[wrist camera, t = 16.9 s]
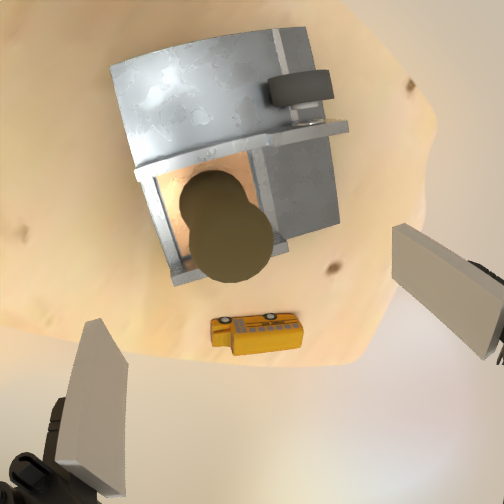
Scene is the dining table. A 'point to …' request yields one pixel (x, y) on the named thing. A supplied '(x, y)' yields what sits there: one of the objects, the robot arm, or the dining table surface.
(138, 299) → the dining table surface
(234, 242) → the olive brown pawn
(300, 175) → the plate
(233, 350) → the toy bus
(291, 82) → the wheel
